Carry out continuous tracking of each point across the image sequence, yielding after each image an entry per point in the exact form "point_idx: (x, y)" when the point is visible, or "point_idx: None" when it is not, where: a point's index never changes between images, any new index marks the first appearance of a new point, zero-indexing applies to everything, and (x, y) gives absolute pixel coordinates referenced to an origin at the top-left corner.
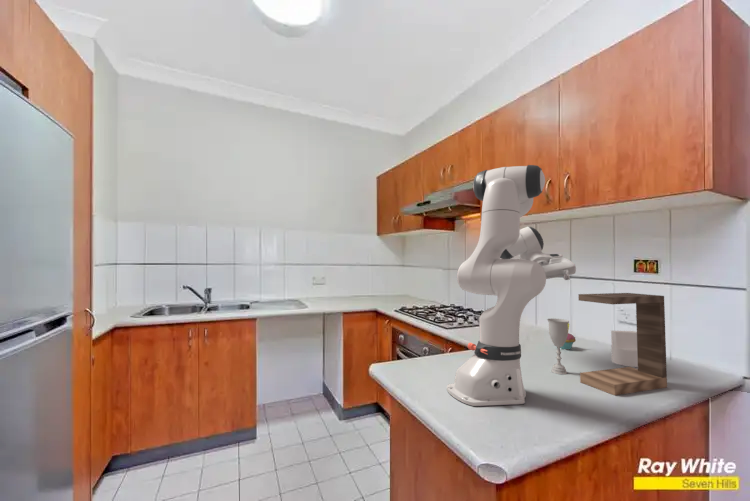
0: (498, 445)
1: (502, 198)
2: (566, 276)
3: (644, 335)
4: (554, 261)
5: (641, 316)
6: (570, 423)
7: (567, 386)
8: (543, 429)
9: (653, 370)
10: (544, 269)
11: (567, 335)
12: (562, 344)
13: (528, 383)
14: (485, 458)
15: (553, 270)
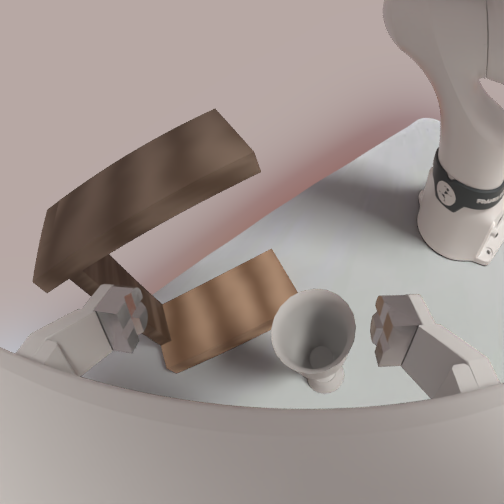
0: (430, 130)
1: None
2: (128, 288)
3: None
4: None
5: (93, 270)
6: (371, 167)
7: (341, 281)
8: (398, 153)
9: (160, 311)
10: (269, 481)
11: (295, 329)
12: (314, 341)
13: (411, 277)
14: (434, 119)
15: (140, 393)
